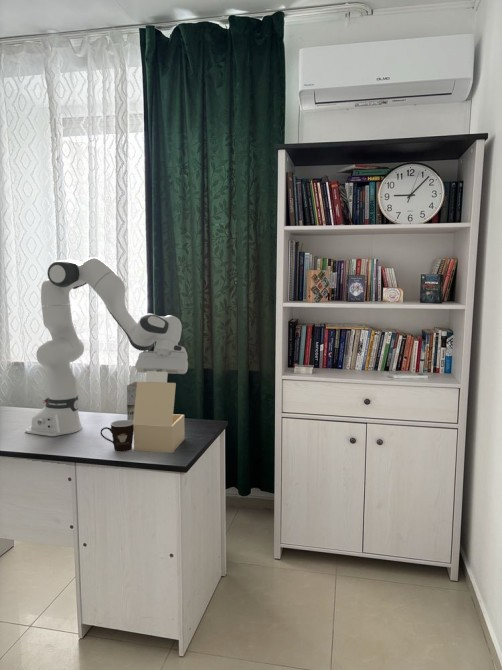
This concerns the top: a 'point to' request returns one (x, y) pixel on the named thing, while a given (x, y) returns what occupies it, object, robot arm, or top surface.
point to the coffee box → (131, 400)
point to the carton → (159, 436)
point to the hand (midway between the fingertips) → (157, 381)
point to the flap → (154, 400)
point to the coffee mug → (121, 435)
